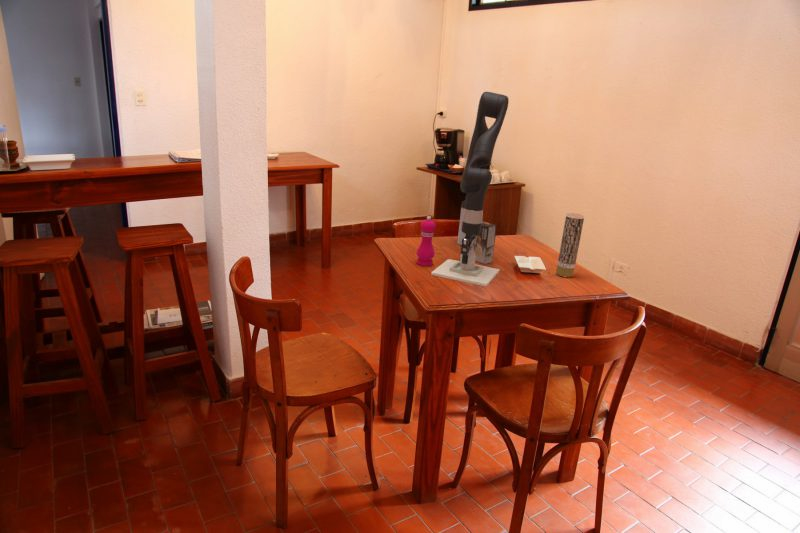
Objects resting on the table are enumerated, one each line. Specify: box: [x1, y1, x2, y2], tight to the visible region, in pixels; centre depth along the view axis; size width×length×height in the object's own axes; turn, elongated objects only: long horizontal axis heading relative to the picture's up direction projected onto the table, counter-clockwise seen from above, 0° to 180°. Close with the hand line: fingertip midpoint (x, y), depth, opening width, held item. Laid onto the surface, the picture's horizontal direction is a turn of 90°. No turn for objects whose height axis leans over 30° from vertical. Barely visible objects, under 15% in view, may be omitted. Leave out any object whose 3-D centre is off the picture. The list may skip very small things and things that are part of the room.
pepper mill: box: [416, 215, 437, 267], centre depth 216 cm, size 7×7×20 cm
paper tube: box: [555, 212, 585, 278], centre depth 214 cm, size 7×7×25 cm
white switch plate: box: [430, 258, 501, 287], centre depth 212 cm, size 20×22×2 cm
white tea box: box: [459, 245, 477, 270], centre depth 210 cm, size 4×7×10 cm, turn 13°
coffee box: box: [474, 221, 498, 265], centre depth 227 cm, size 9×6×16 cm
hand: (467, 260), depth 211 cm, fingers closed on white tea box, 7 cm apart
